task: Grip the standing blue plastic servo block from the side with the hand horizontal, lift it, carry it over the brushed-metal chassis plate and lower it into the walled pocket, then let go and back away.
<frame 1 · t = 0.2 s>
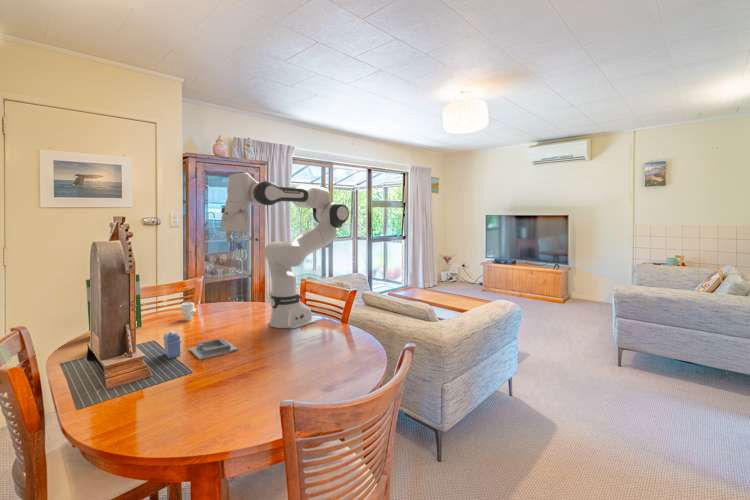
hand: (233, 242, 157), 40 cm above the table, tool pointing down, fingers open, 8 cm apart
camera mount: (112, 349, 142), on the table
chassis: (213, 350, 142), on the table
hardback book: (116, 331, 162), on the table
servo: (172, 354, 137), on the table
pipe fitting: (188, 319, 181), on the table
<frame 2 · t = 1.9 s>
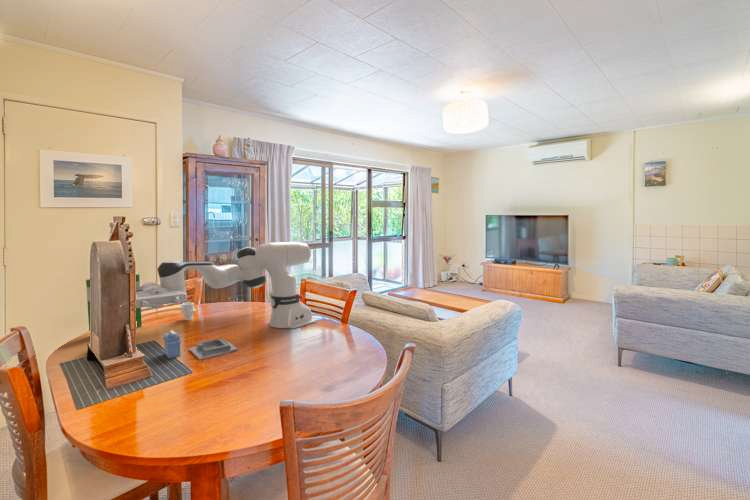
hand: (163, 303, 145), 17 cm above the table, tool horizontal, fingers open, 8 cm apart
nothing on the table moved.
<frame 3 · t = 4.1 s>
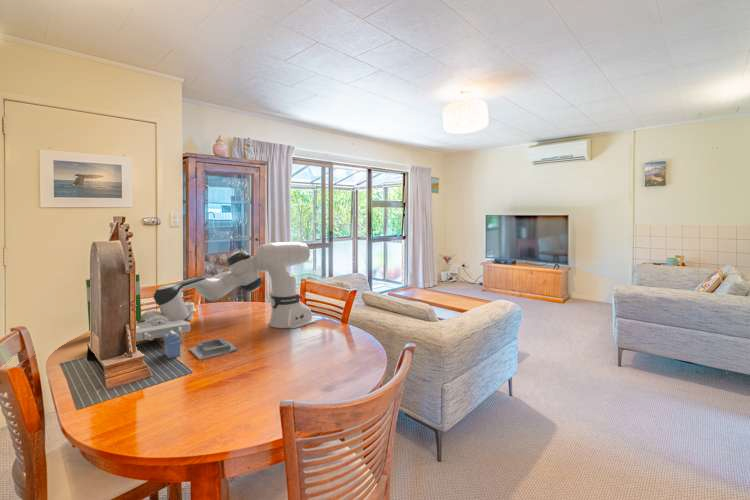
hand: (165, 335, 141), 5 cm above the table, tool horizontal, fingers open, 8 cm apart
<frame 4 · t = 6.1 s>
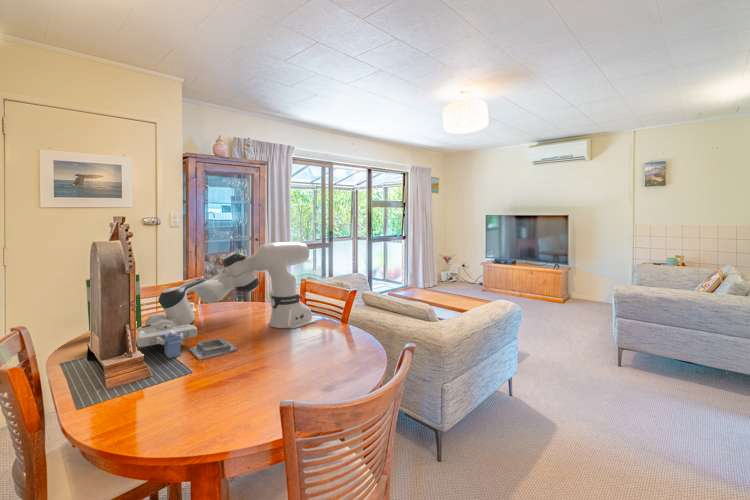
hand: (172, 340, 136), 6 cm above the table, tool horizontal, fingers closed on servo, 4 cm apart
servo: (172, 354, 137), on the table, touching gripper
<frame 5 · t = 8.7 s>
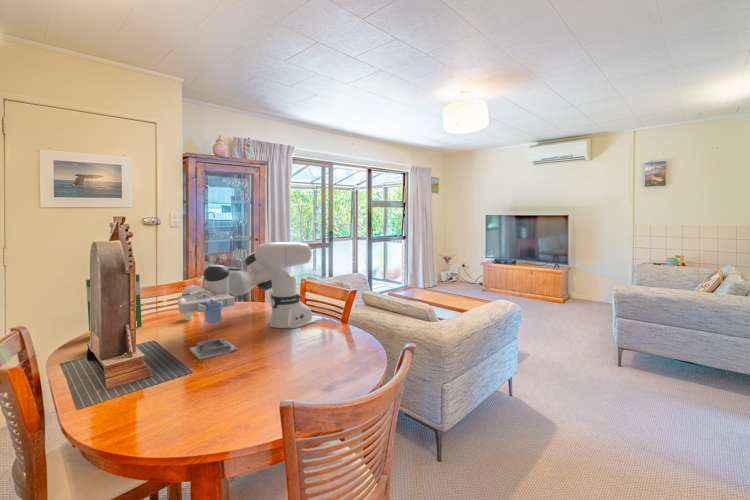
hand: (213, 307, 139), 17 cm above the table, tool horizontal, fingers closed on servo, 4 cm apart
servo: (213, 321, 141), point 11 cm above the table, touching gripper
when the fingers open (7 cm above the table, at t = 11.3 s): servo stays where it is, resting on chassis.
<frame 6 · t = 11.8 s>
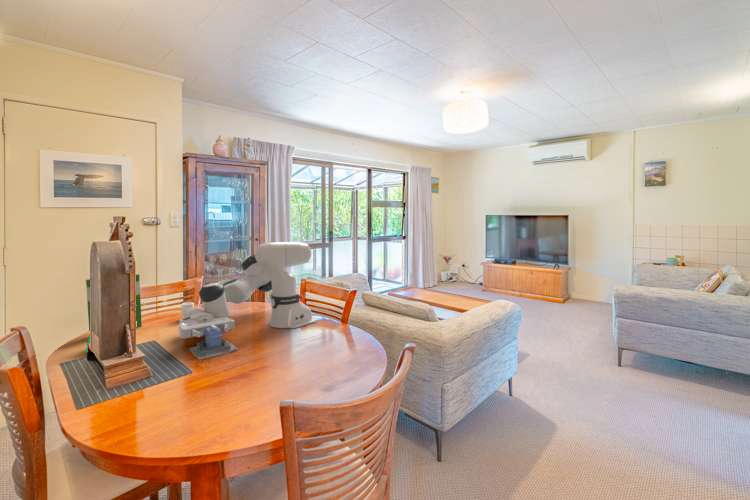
hand: (213, 332, 140), 7 cm above the table, tool horizontal, fingers open, 8 cm apart
servo: (213, 348, 142), point 1 cm above the table, touching chassis
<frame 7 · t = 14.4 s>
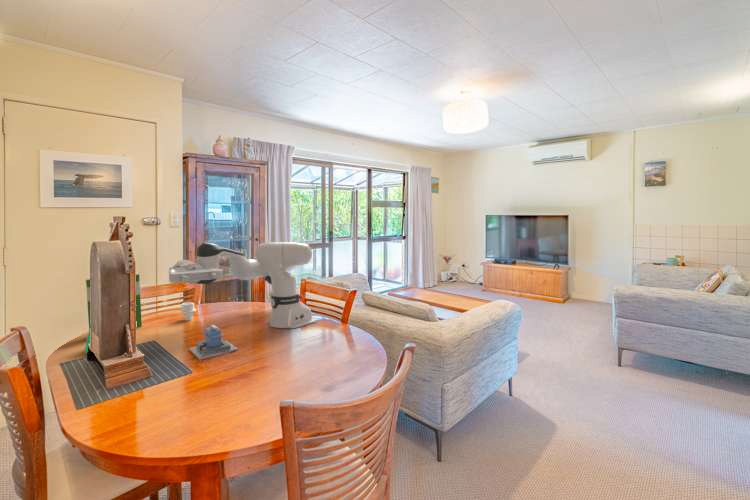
hand: (201, 278, 148), 26 cm above the table, tool horizontal, fingers open, 8 cm apart
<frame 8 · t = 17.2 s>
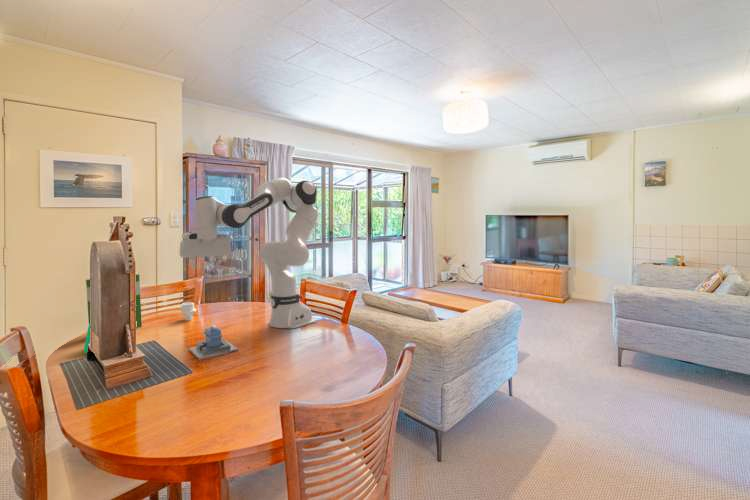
hand: (206, 266, 159), 29 cm above the table, tool pointing down, fingers open, 8 cm apart
at the end: servo 0.0 cm off-centre on the chassis, point 0.8 cm above the chassis's base; servo tilted 0°; the gripper is holding nothing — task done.
